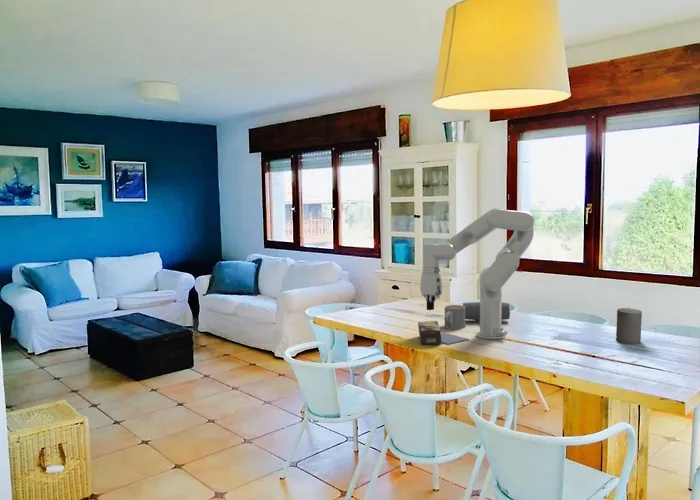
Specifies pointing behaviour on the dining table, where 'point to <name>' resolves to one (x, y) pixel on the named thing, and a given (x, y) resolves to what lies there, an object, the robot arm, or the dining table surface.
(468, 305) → the bluetooth speaker
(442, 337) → the mat
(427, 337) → the coffee box
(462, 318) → the coffee mug
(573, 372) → the dining table surface
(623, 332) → the pillar candle
